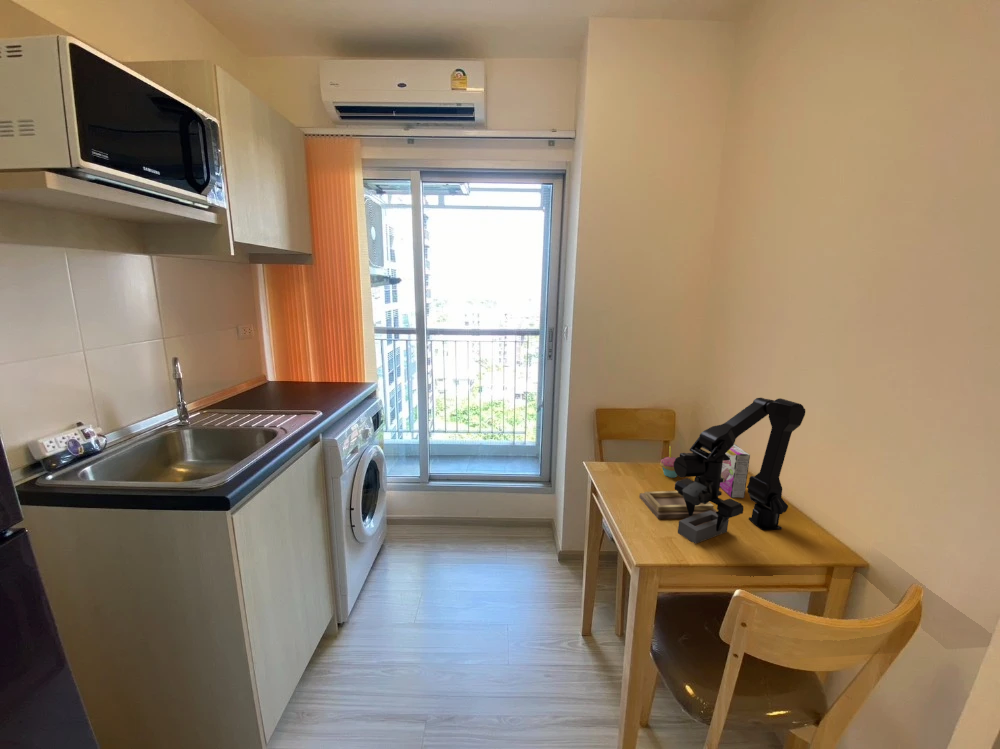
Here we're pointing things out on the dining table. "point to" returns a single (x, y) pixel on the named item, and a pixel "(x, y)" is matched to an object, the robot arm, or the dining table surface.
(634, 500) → the dining table surface
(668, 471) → the cupcake
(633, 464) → the dining table surface
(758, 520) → the robot arm
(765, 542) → the dining table surface
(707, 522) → the dark gray frame
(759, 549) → the dining table surface
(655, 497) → the walnut board
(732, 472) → the candy bar box
